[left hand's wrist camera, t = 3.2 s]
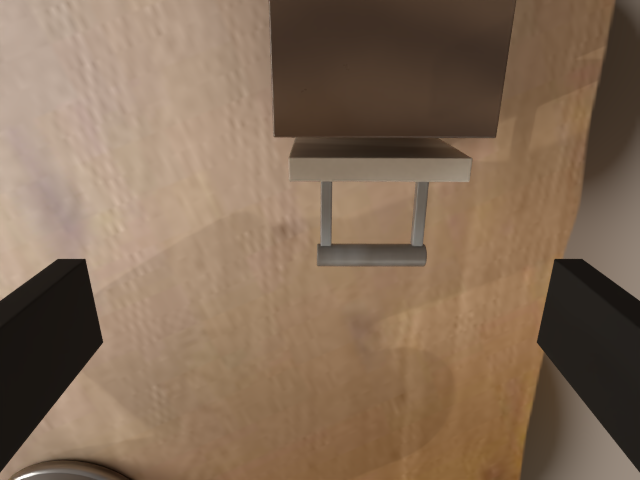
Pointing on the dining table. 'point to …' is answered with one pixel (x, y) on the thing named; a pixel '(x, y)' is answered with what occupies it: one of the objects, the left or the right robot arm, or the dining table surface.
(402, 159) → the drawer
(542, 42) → the dining table surface
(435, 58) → the cabinet
